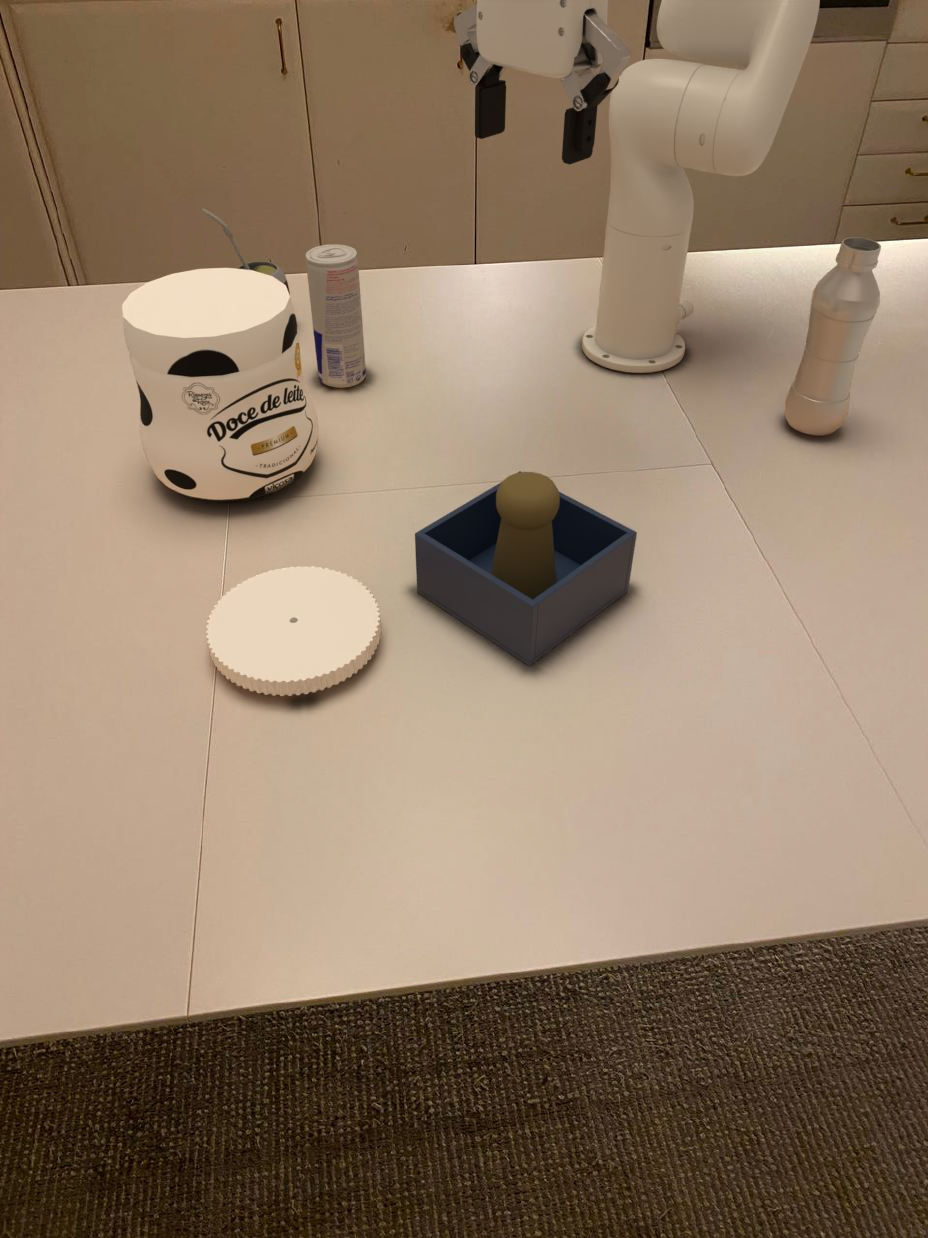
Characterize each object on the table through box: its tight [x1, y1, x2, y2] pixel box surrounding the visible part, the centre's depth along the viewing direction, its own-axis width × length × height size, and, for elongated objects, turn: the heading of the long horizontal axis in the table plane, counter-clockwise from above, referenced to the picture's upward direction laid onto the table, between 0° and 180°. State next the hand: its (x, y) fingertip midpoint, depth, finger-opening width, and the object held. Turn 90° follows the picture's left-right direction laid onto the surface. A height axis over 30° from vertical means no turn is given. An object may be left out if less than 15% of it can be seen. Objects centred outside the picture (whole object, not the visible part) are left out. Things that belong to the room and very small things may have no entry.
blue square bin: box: [414, 470, 638, 667], centre depth 82 cm, size 13×13×6 cm
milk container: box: [121, 267, 319, 503], centre depth 92 cm, size 17×17×18 cm
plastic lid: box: [205, 565, 382, 697], centre depth 78 cm, size 14×14×2 cm
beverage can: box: [305, 243, 367, 389], centre depth 107 cm, size 6×6×15 cm
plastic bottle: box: [783, 236, 882, 437], centre depth 98 cm, size 6×7×20 cm
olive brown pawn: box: [491, 471, 560, 600], centre depth 80 cm, size 6×6×11 cm
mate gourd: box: [201, 207, 291, 296], centre depth 117 cm, size 8×8×15 cm
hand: (532, 147), depth 80 cm, fingers open, 9 cm apart
